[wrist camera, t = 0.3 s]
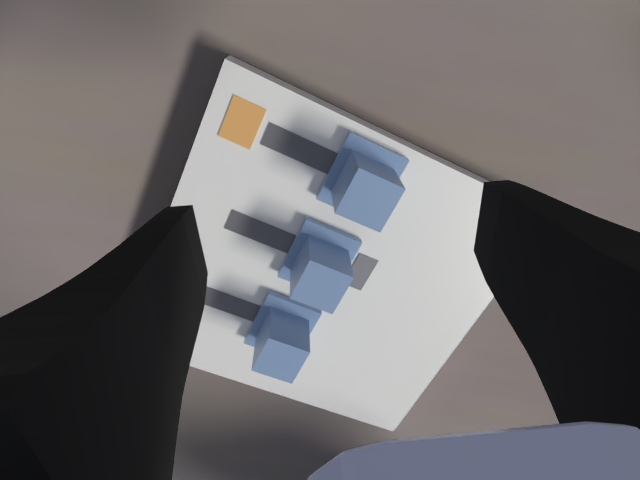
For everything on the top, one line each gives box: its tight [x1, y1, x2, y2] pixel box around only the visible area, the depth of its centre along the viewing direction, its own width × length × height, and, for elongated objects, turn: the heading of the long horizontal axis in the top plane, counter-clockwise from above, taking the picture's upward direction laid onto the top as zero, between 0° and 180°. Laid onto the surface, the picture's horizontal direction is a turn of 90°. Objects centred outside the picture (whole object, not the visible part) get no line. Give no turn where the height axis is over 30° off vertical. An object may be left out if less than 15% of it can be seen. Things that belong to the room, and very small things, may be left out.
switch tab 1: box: [277, 216, 362, 314], centre depth 21 cm, size 3×3×3 cm
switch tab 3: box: [316, 130, 409, 232], centre depth 19 cm, size 3×3×3 cm
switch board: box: [171, 55, 494, 431], centre depth 24 cm, size 15×16×2 cm
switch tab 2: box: [244, 290, 322, 384], centre depth 22 cm, size 3×3×3 cm
